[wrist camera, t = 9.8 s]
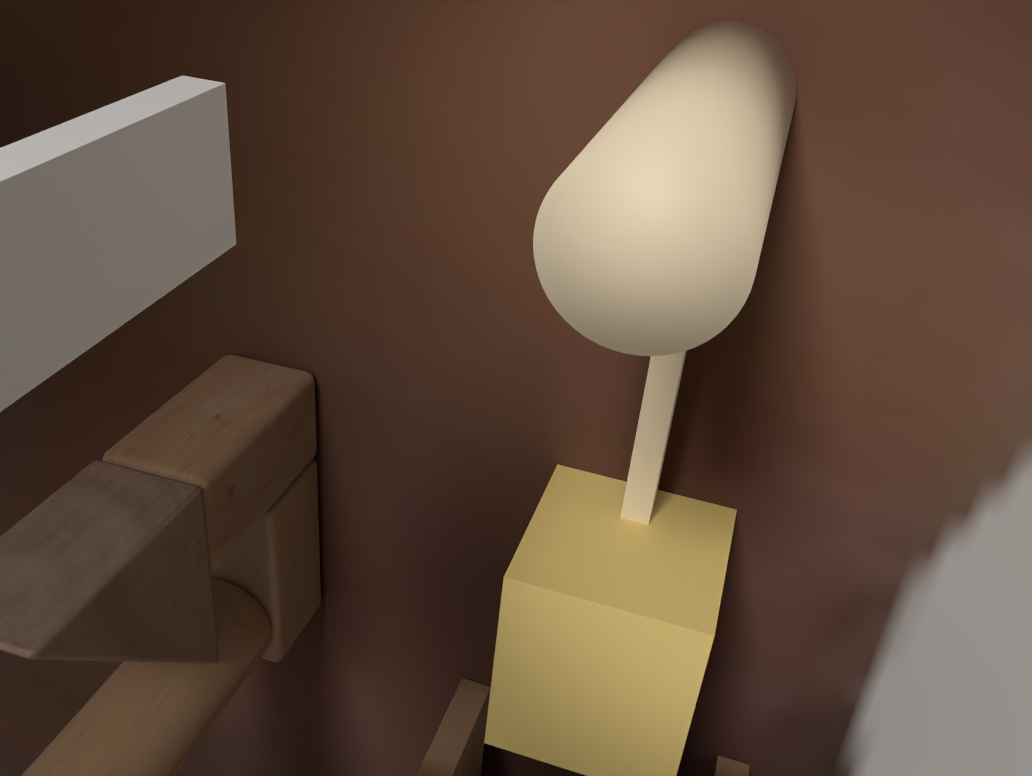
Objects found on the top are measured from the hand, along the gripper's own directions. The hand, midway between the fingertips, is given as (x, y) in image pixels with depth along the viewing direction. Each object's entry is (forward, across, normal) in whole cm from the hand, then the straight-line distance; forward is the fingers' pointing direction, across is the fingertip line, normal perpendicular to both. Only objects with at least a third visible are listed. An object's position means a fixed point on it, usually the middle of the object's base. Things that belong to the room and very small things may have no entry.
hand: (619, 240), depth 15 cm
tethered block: (+13, 0, -10) cm, 16 cm away
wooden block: (+13, -13, -18) cm, 25 cm away
